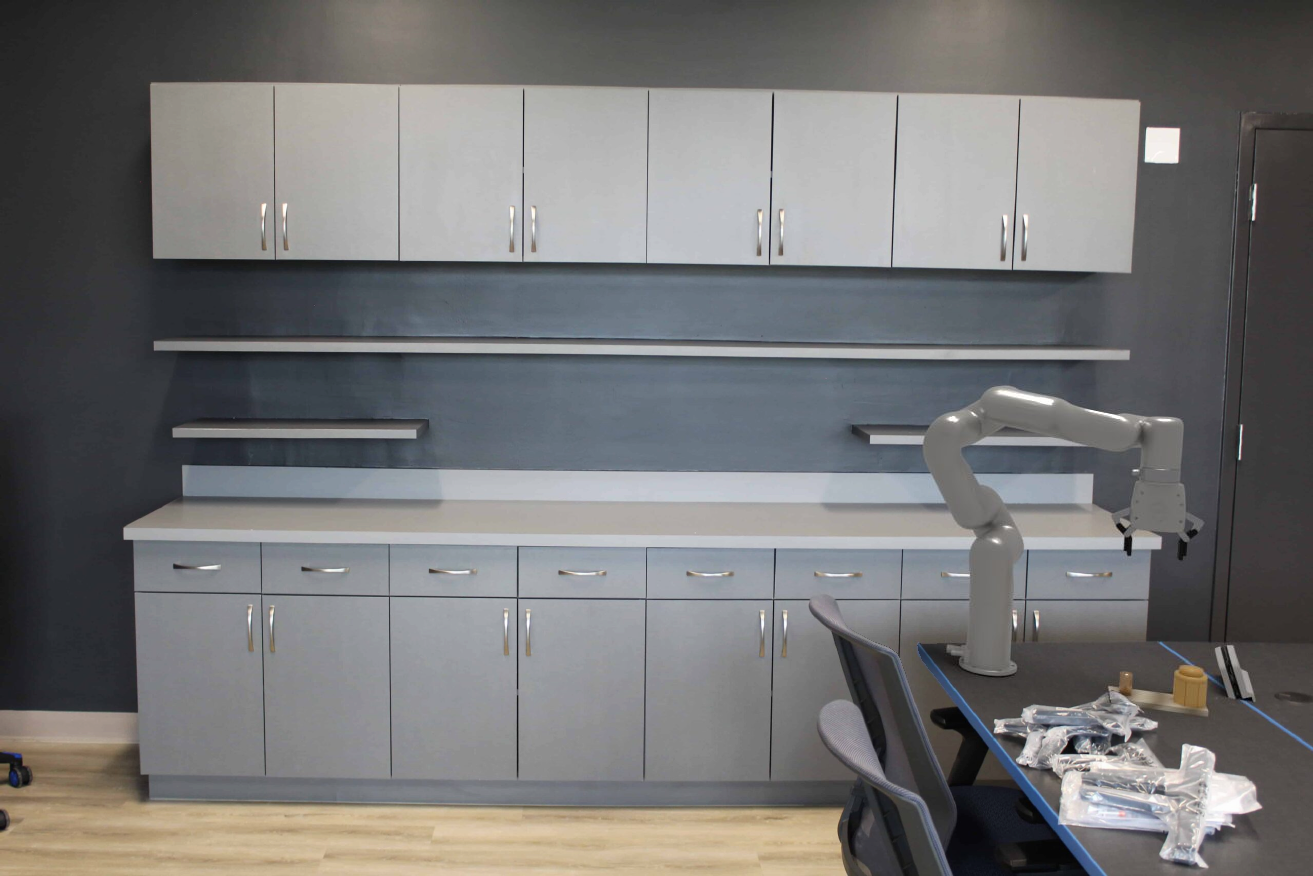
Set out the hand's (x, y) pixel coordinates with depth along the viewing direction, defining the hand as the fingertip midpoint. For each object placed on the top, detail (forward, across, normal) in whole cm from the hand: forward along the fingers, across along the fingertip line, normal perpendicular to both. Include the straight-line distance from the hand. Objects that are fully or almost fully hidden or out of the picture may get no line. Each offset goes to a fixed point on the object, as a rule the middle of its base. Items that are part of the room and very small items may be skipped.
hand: (1154, 557), depth 208 cm
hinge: (+31, +19, +15) cm, 39 cm away
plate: (+30, +2, -3) cm, 31 cm away
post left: (+29, -4, -3) cm, 30 cm away
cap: (+29, +8, -3) cm, 30 cm away
